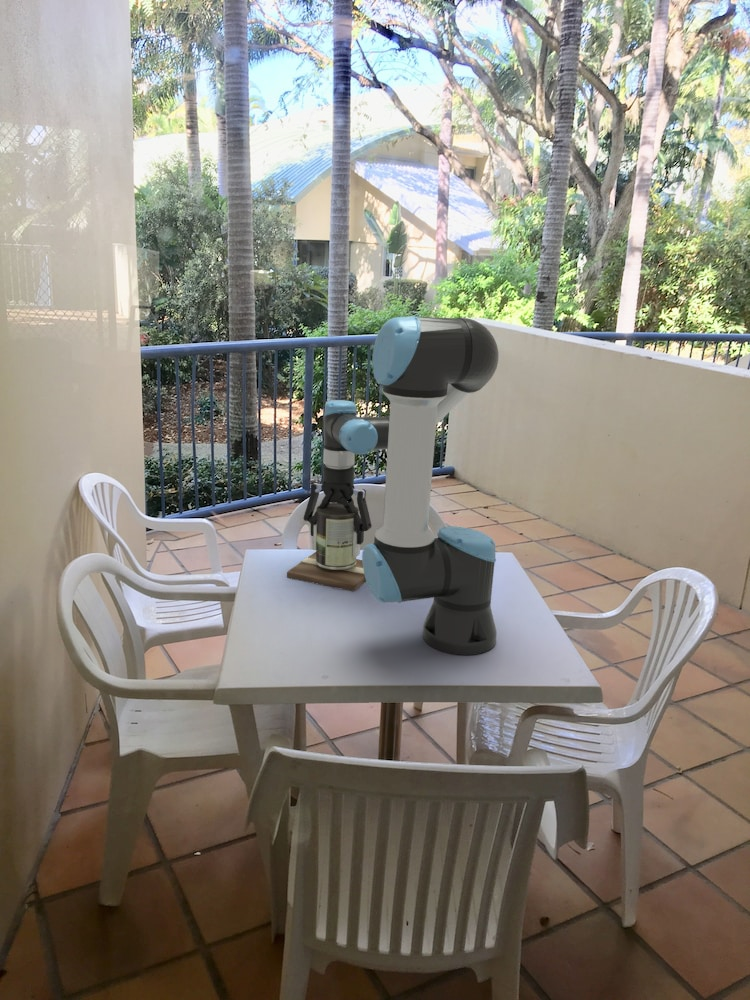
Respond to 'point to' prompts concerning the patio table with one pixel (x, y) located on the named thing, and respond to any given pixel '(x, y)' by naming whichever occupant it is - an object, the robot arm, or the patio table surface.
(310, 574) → the board
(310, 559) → the strip
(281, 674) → the patio table surface
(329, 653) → the patio table surface
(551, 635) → the patio table surface
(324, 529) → the coffee can
